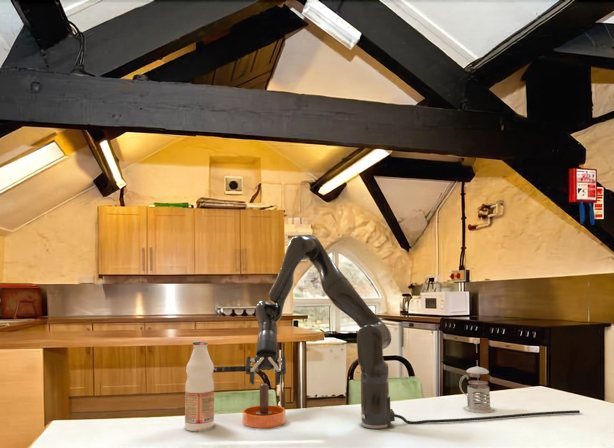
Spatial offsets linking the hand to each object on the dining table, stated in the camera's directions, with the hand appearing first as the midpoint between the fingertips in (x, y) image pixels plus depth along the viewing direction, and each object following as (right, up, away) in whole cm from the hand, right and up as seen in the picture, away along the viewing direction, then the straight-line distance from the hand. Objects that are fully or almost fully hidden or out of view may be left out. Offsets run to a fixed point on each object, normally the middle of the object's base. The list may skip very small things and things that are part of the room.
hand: (264, 383), depth 182 cm
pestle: (0, -11, -6) cm, 13 cm away
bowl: (0, -12, -6) cm, 13 cm away
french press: (+77, -13, +11) cm, 79 cm away
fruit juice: (-21, -12, -9) cm, 26 cm away
